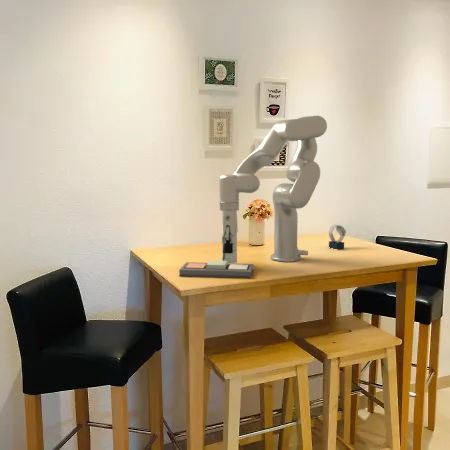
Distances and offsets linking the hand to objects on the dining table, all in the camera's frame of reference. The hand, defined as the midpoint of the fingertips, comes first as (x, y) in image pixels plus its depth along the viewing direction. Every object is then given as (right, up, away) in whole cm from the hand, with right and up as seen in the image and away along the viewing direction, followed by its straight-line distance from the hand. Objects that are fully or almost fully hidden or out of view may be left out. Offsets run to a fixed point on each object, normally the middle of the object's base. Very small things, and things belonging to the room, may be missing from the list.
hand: (229, 250), depth 197 cm
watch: (+50, -1, +32) cm, 59 cm away
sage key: (-5, -5, -12) cm, 14 cm away
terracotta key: (-13, -6, -11) cm, 18 cm away
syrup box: (0, -5, +1) cm, 5 cm away
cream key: (+3, -7, -13) cm, 15 cm away
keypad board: (-5, -8, -11) cm, 15 cm away
